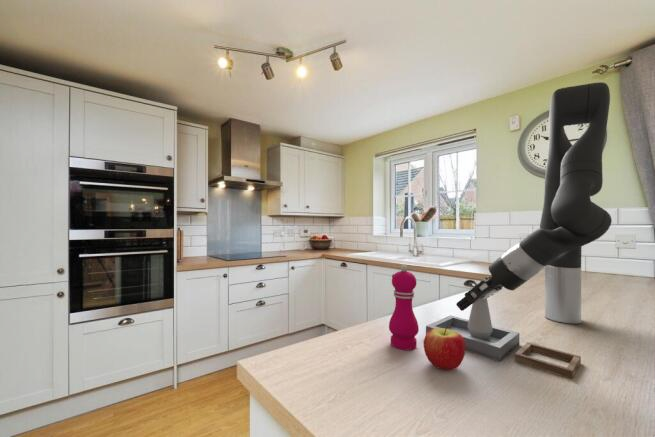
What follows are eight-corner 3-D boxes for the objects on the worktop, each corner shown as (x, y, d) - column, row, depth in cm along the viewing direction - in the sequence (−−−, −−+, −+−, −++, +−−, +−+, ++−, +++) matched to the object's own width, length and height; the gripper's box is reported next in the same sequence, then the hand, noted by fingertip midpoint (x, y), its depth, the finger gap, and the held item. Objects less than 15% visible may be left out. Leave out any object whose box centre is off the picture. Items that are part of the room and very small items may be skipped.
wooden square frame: (527, 348, 72) (527, 342, 72) (580, 363, 65) (580, 356, 65) (514, 360, 65) (514, 353, 65) (572, 378, 58) (572, 371, 58)
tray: (450, 325, 88) (450, 315, 88) (519, 344, 74) (519, 332, 74) (425, 337, 78) (425, 325, 78) (500, 361, 65) (500, 347, 65)
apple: (446, 381, 56) (447, 329, 57) (414, 362, 64) (415, 316, 64) (474, 371, 60) (474, 323, 60) (441, 354, 68) (441, 311, 68)
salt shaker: (495, 342, 73) (496, 291, 73) (471, 340, 74) (471, 289, 74) (487, 333, 79) (488, 285, 79) (465, 331, 80) (465, 284, 80)
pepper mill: (420, 342, 75) (420, 264, 75) (416, 353, 68) (417, 268, 69) (392, 337, 78) (392, 262, 78) (385, 347, 71) (386, 265, 72)
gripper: (513, 252, 76) (467, 288, 84) (492, 256, 66) (443, 296, 75) (537, 275, 72) (487, 311, 80) (519, 283, 62) (464, 323, 71)
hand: (466, 304), depth 77 cm, fingers open, 8 cm apart
